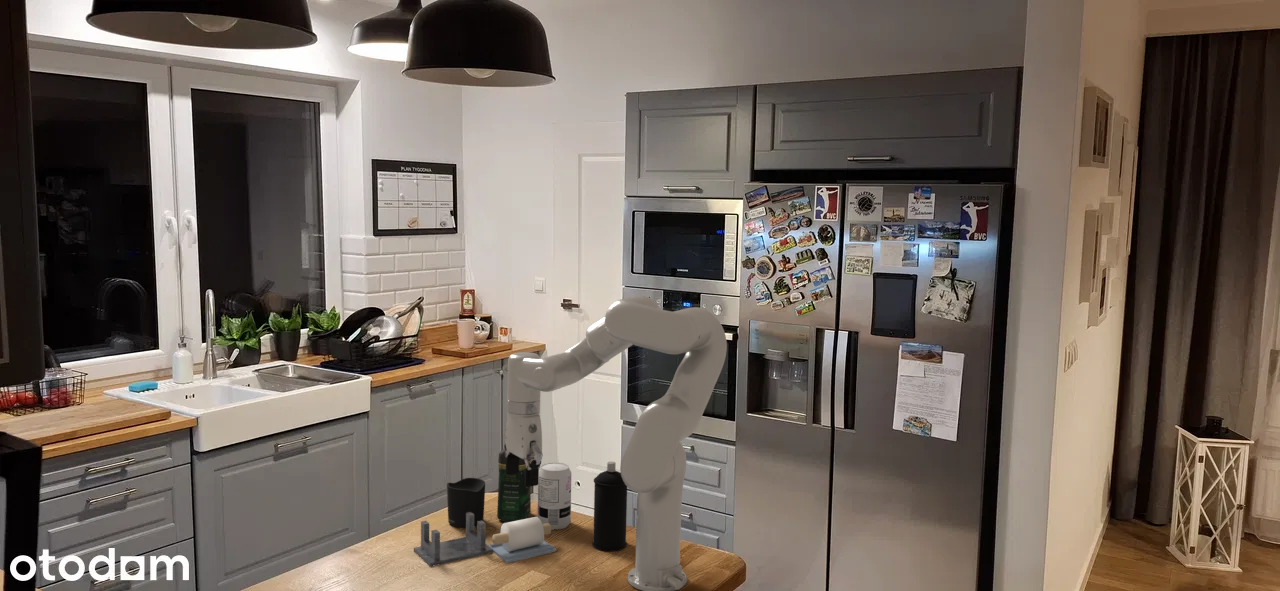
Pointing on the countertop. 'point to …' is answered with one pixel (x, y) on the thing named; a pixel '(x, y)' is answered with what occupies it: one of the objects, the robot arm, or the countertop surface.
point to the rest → (522, 551)
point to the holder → (453, 544)
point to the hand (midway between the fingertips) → (521, 479)
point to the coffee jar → (512, 492)
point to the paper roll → (521, 534)
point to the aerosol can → (610, 510)
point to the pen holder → (465, 501)
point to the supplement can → (554, 495)
